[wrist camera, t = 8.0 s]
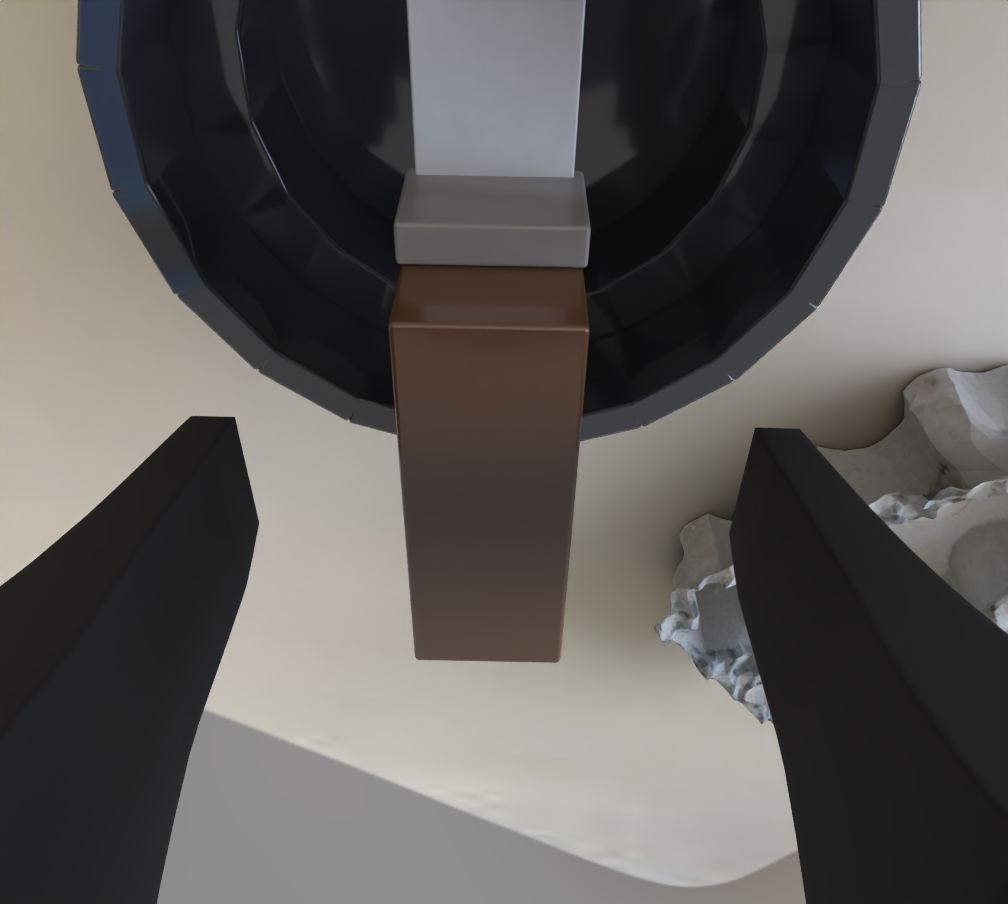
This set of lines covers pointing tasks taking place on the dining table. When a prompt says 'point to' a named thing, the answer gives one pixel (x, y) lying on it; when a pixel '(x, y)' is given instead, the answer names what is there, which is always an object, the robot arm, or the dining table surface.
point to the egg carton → (896, 500)
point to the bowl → (599, 155)
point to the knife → (491, 325)
